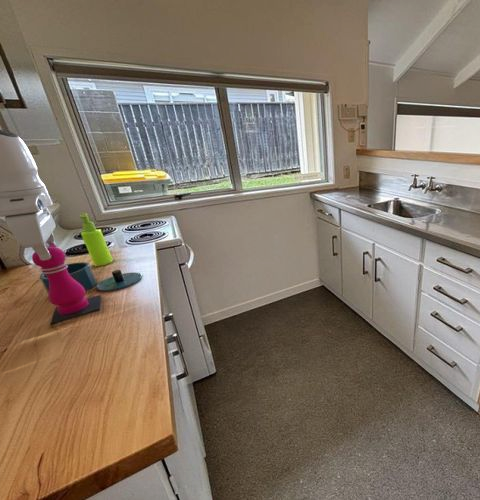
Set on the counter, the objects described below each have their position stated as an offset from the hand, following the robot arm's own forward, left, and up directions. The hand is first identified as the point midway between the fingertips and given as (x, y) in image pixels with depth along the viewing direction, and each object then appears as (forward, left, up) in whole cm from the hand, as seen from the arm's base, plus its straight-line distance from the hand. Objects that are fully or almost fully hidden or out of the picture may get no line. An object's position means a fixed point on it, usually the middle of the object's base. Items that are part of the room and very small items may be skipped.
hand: (49, 253), depth 73 cm
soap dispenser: (+5, +39, -18) cm, 43 cm away
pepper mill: (0, 0, -17) cm, 17 cm away
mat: (0, 0, -18) cm, 18 cm away
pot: (-2, +17, -18) cm, 25 cm away
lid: (+10, +12, -17) cm, 23 cm away
